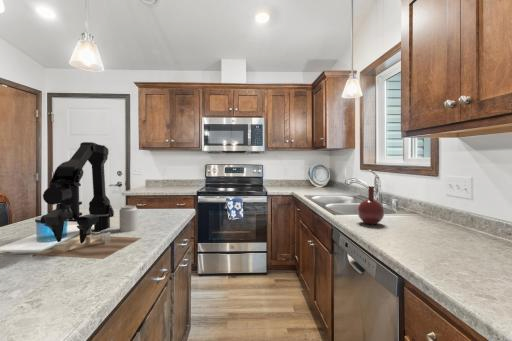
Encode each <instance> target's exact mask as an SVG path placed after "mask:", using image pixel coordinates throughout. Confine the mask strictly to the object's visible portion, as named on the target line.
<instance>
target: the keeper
mask: <svg viewBox="0 0 512 341" xmlns="http://www.w3.org/2000/svg"><path fill="white" fill-rule="evenodd" d="M99 232H100V233H95V234H90V237H92V238H94V237H99V236H102V243H103V244H108V243H110V236H111V231H109V230H107V231H106V230H104V231H99Z"/></svg>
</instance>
